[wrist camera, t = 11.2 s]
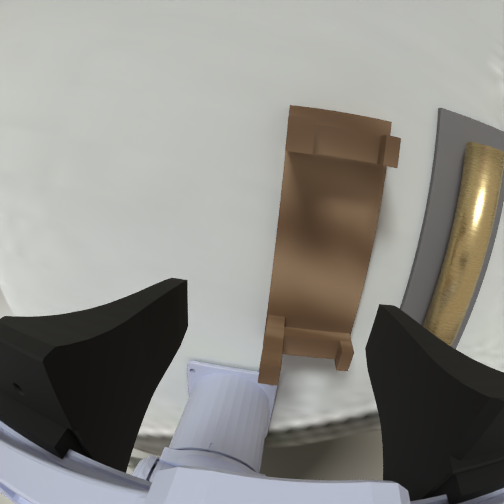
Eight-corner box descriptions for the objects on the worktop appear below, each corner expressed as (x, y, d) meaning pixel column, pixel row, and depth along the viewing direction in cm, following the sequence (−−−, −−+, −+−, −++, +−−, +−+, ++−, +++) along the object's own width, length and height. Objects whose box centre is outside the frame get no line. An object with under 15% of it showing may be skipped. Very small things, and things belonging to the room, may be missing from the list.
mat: (443, 367, 23) (445, 370, 22) (378, 367, 23) (379, 370, 23) (508, 135, 16) (511, 135, 15) (438, 108, 16) (440, 107, 16)
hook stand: (343, 346, 23) (353, 404, 17) (264, 337, 24) (253, 395, 18) (386, 123, 17) (426, 115, 11) (290, 107, 18) (288, 88, 12)
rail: (436, 354, 22) (443, 376, 19) (406, 350, 22) (411, 373, 20) (493, 153, 16) (512, 154, 13) (460, 142, 17) (476, 141, 14)
